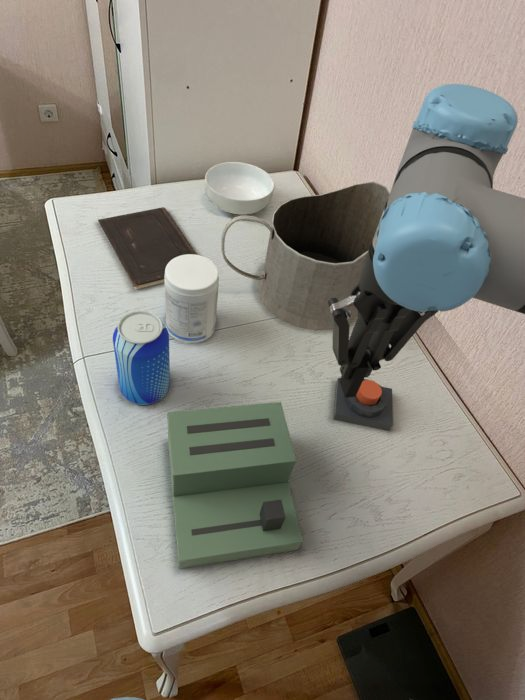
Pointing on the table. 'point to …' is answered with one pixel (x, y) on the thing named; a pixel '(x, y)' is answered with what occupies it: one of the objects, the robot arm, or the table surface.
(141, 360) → the beer can
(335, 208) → the pitcher
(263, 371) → the table surface
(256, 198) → the cereal bowl
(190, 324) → the supplement tub
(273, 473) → the toaster
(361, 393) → the button
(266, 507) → the slider knob
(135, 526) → the table surface
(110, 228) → the hardcover book
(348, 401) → the control block
